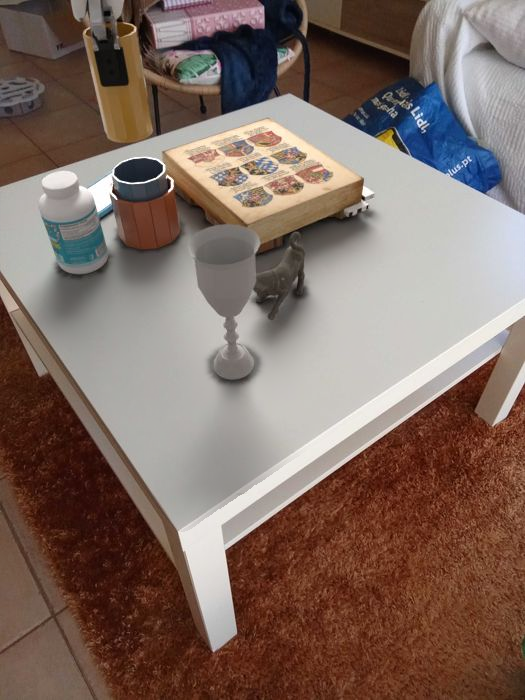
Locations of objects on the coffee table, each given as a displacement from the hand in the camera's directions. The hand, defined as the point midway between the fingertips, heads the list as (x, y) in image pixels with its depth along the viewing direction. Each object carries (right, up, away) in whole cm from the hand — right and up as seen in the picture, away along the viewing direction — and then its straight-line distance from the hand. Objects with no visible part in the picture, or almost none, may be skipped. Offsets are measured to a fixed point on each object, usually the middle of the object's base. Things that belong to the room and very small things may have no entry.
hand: (117, 72), depth 68 cm
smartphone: (-10, -7, +29) cm, 31 cm away
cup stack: (0, -15, +22) cm, 26 cm away
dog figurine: (+20, -26, +11) cm, 34 cm away
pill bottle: (-9, -20, +17) cm, 28 cm away
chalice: (+14, -35, +2) cm, 38 cm away
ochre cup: (0, -5, +5) cm, 7 cm away
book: (+19, -8, +28) cm, 35 cm away
